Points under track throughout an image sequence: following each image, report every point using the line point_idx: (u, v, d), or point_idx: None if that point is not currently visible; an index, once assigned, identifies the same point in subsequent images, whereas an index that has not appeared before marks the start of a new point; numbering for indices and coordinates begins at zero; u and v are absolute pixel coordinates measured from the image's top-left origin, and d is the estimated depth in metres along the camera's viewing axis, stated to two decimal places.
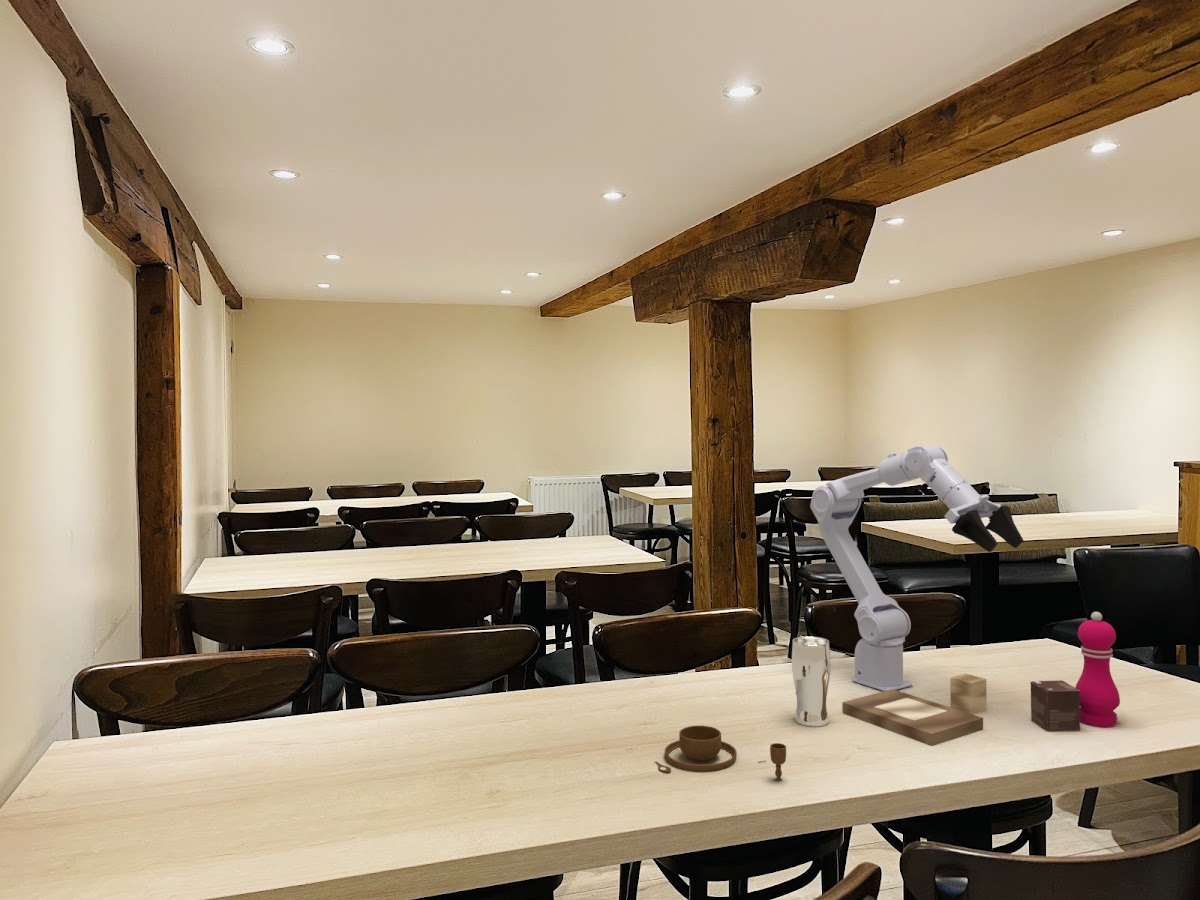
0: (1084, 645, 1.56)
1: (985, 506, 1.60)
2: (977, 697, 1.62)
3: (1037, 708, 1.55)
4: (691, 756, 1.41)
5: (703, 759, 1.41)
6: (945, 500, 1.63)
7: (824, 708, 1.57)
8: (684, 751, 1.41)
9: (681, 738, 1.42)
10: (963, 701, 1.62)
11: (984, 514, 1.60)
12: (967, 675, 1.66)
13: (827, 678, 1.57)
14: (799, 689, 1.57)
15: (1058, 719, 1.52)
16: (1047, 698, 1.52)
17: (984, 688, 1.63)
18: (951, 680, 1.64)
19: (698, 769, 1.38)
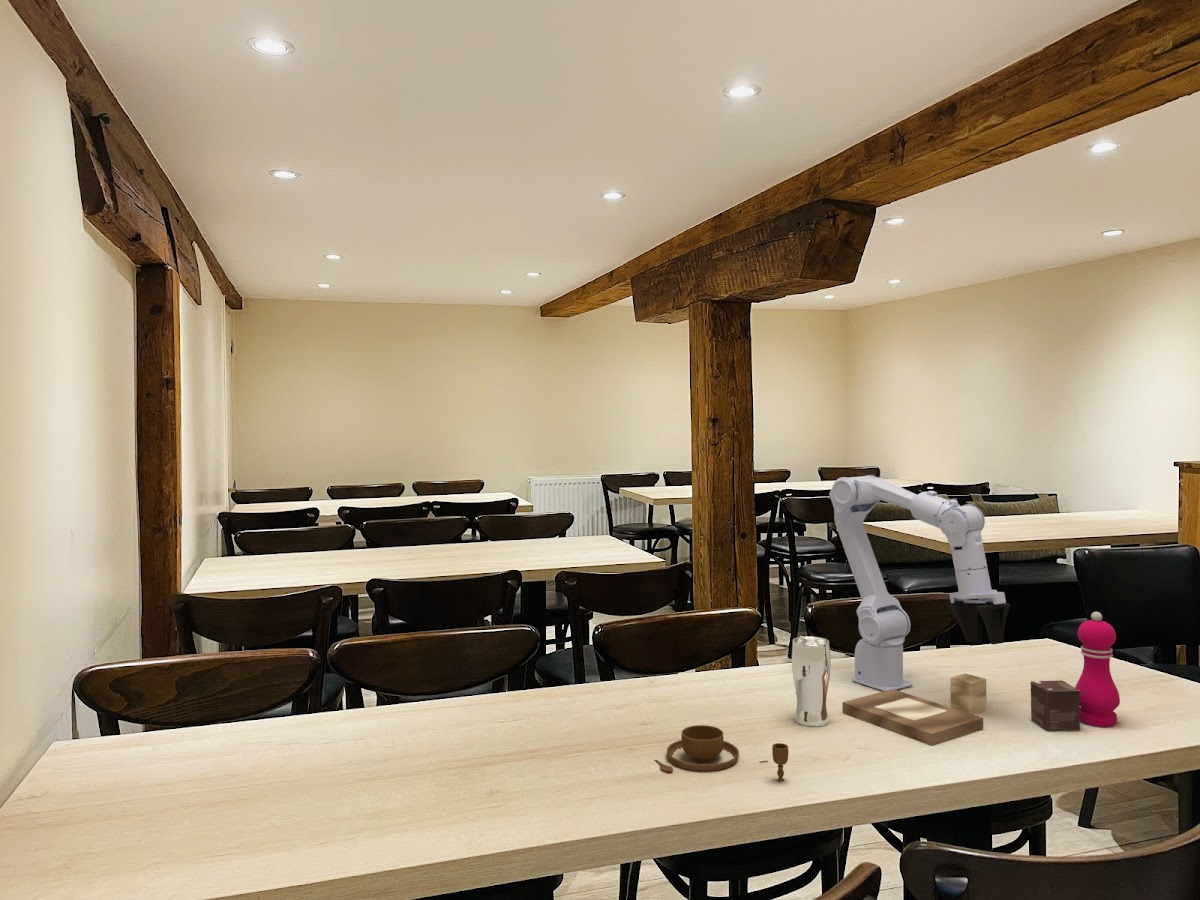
0: (1084, 645, 1.56)
1: None
2: (977, 697, 1.62)
3: (1037, 708, 1.55)
4: (693, 756, 1.41)
5: (705, 759, 1.41)
6: (973, 572, 1.59)
7: (824, 708, 1.57)
8: (686, 751, 1.41)
9: (683, 738, 1.42)
10: (962, 701, 1.62)
11: None
12: (967, 675, 1.66)
13: (827, 678, 1.57)
14: (799, 689, 1.57)
15: (1058, 719, 1.52)
16: (1047, 698, 1.52)
17: (984, 688, 1.63)
18: (951, 680, 1.64)
19: (700, 769, 1.37)
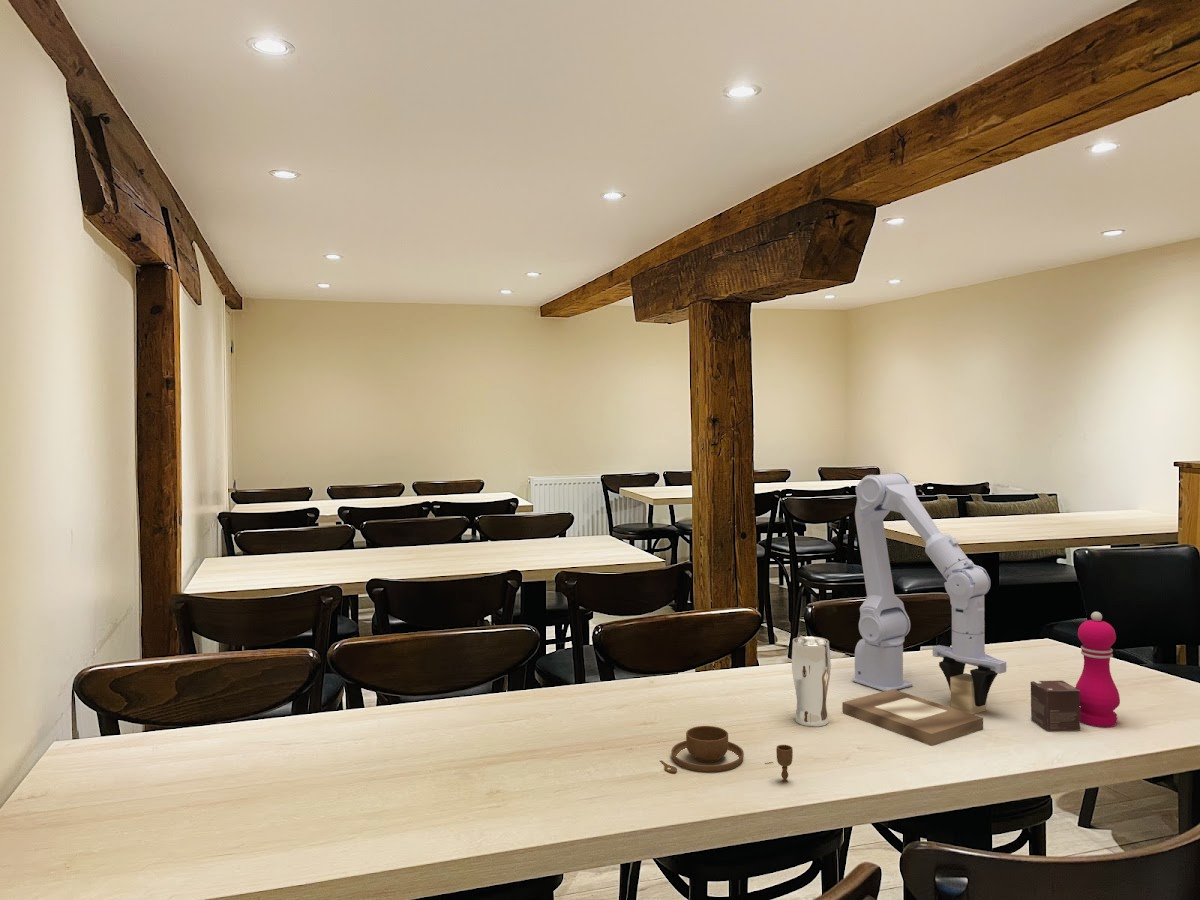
0: (1084, 645, 1.56)
1: None
2: None
3: (1037, 708, 1.55)
4: (698, 756, 1.40)
5: (710, 759, 1.40)
6: (975, 636, 1.61)
7: (824, 708, 1.57)
8: (691, 751, 1.41)
9: (688, 738, 1.42)
10: (963, 701, 1.62)
11: None
12: (967, 675, 1.66)
13: (827, 678, 1.57)
14: (799, 689, 1.57)
15: (1058, 719, 1.52)
16: (1047, 698, 1.52)
17: None
18: (951, 680, 1.64)
19: (704, 769, 1.37)
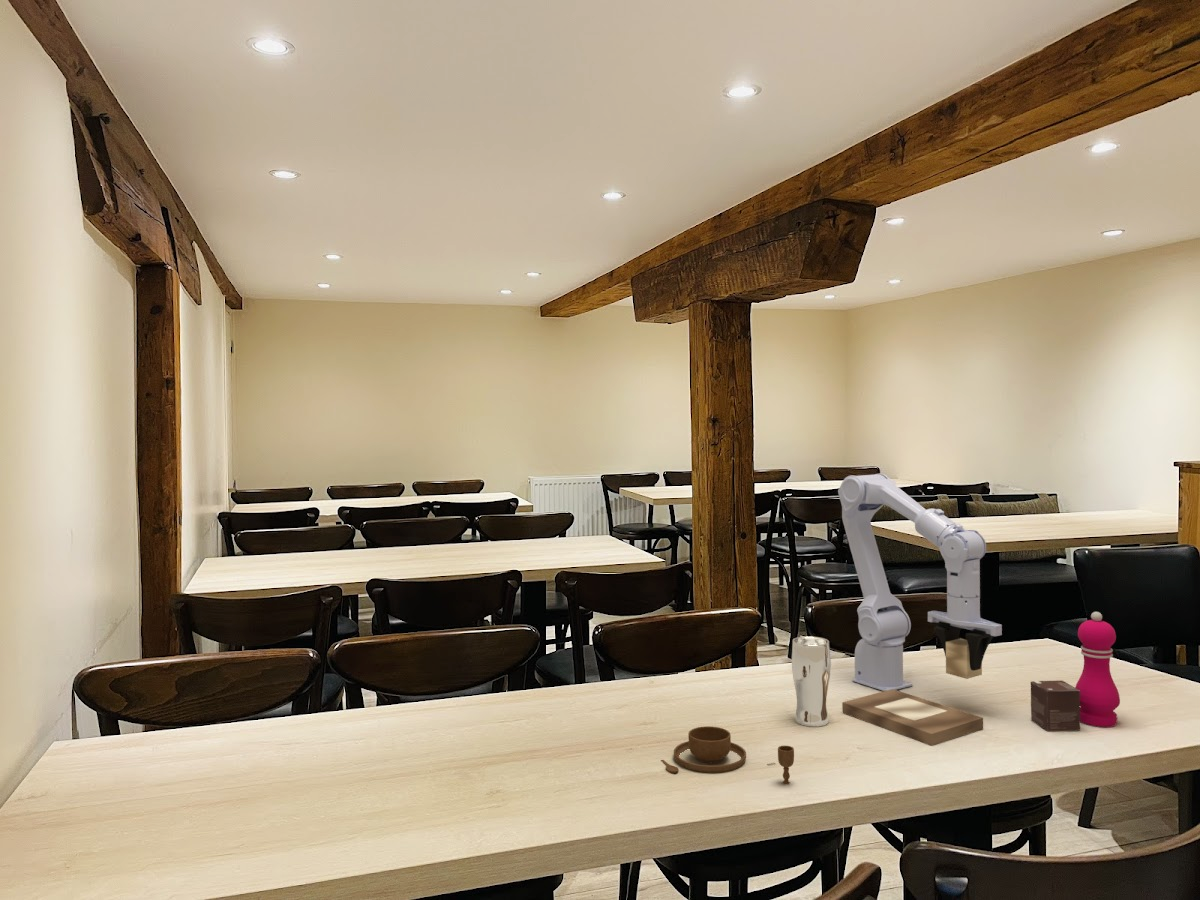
0: (1084, 645, 1.56)
1: None
2: None
3: (1037, 708, 1.55)
4: (699, 757, 1.40)
5: (712, 760, 1.40)
6: (971, 600, 1.60)
7: (824, 708, 1.57)
8: (693, 751, 1.41)
9: (690, 738, 1.42)
10: (958, 665, 1.62)
11: None
12: (962, 640, 1.65)
13: (827, 678, 1.57)
14: (799, 689, 1.57)
15: (1058, 719, 1.52)
16: (1047, 698, 1.52)
17: None
18: (946, 644, 1.64)
19: (706, 770, 1.37)
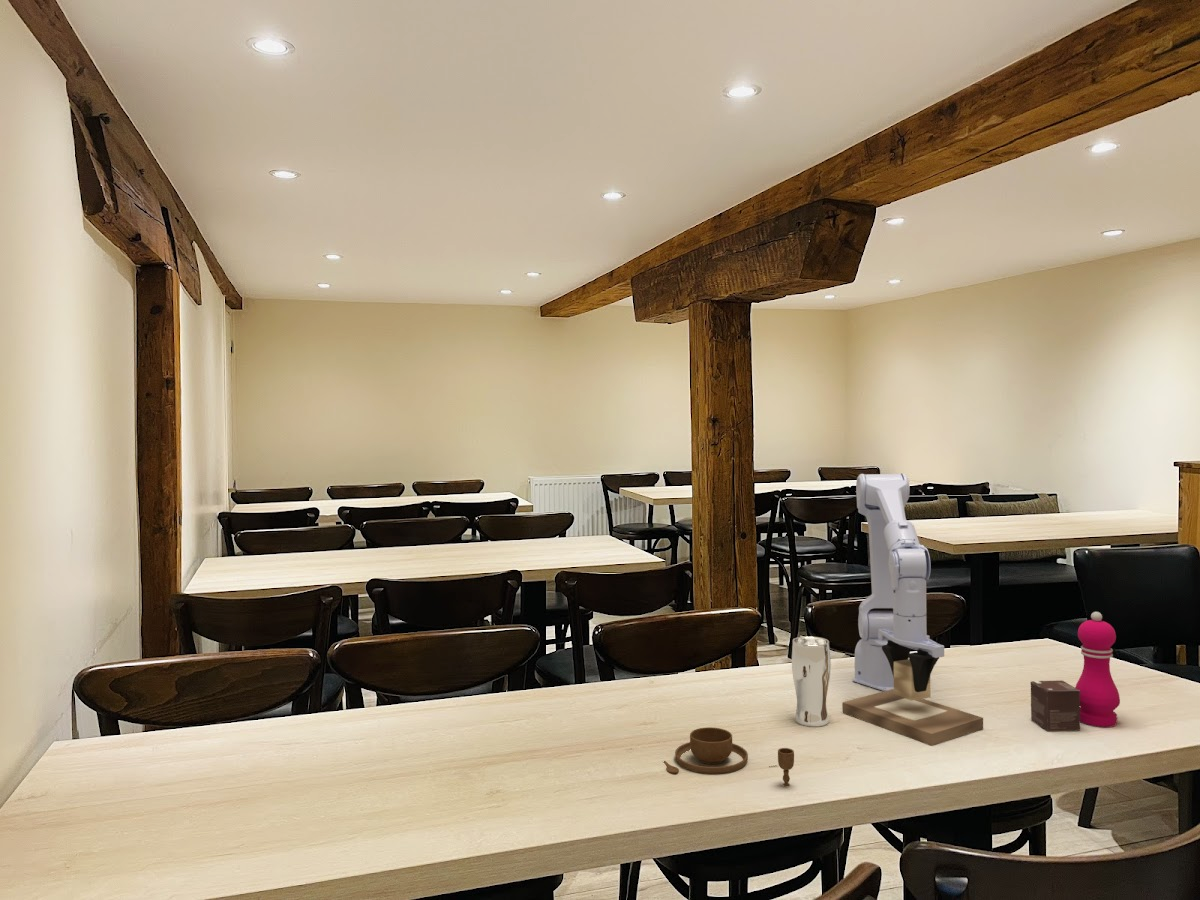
0: (1084, 645, 1.56)
1: None
2: None
3: (1037, 708, 1.55)
4: (700, 758, 1.40)
5: (713, 761, 1.40)
6: (914, 619, 1.55)
7: (824, 708, 1.57)
8: (694, 752, 1.41)
9: (691, 739, 1.41)
10: (904, 686, 1.57)
11: None
12: None
13: (827, 678, 1.57)
14: (799, 689, 1.57)
15: (1058, 719, 1.52)
16: (1047, 698, 1.52)
17: None
18: (894, 664, 1.59)
19: (706, 771, 1.37)
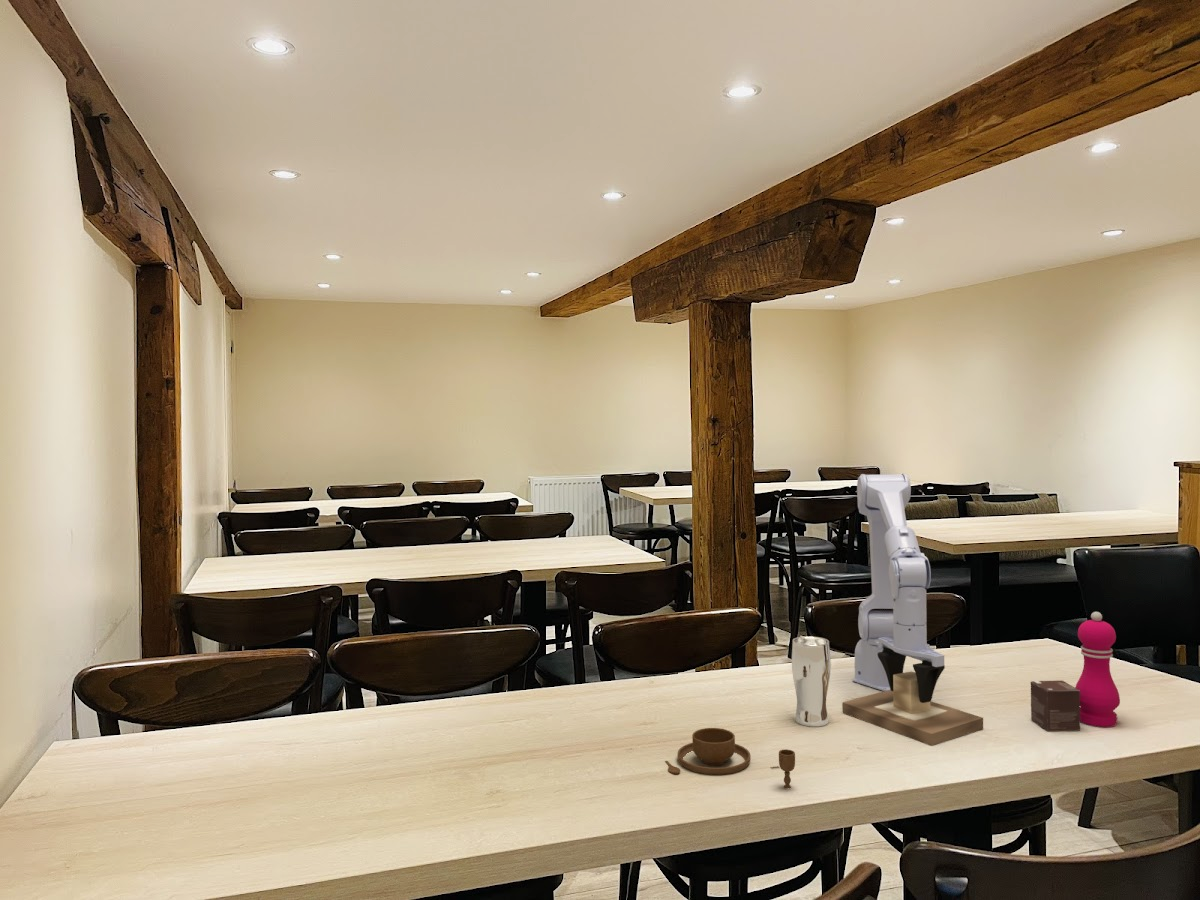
0: (1084, 645, 1.56)
1: None
2: None
3: (1037, 708, 1.55)
4: (702, 758, 1.39)
5: (715, 762, 1.39)
6: (914, 628, 1.55)
7: (824, 708, 1.57)
8: (696, 753, 1.40)
9: (693, 740, 1.41)
10: (904, 699, 1.57)
11: None
12: (912, 673, 1.60)
13: (827, 678, 1.57)
14: (799, 689, 1.57)
15: (1058, 719, 1.52)
16: (1047, 698, 1.52)
17: None
18: (894, 677, 1.59)
19: (707, 772, 1.36)
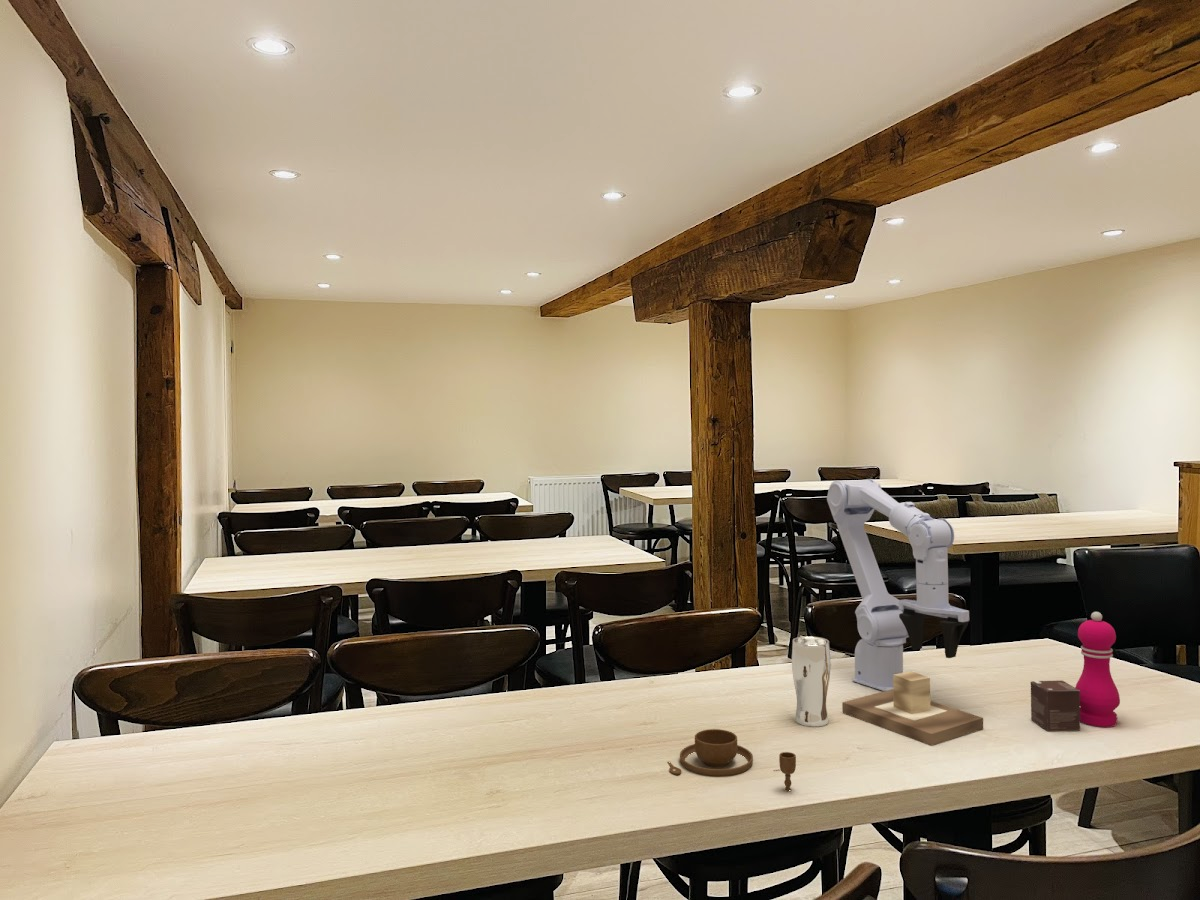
0: (1084, 645, 1.56)
1: None
2: (919, 696, 1.56)
3: (1037, 708, 1.55)
4: (704, 759, 1.39)
5: (716, 763, 1.39)
6: (939, 587, 1.62)
7: (824, 708, 1.57)
8: (698, 754, 1.40)
9: (695, 741, 1.41)
10: (904, 699, 1.57)
11: None
12: (912, 673, 1.60)
13: (827, 678, 1.57)
14: (799, 689, 1.57)
15: (1058, 719, 1.52)
16: (1047, 698, 1.52)
17: (927, 687, 1.57)
18: (894, 677, 1.59)
19: (708, 773, 1.36)
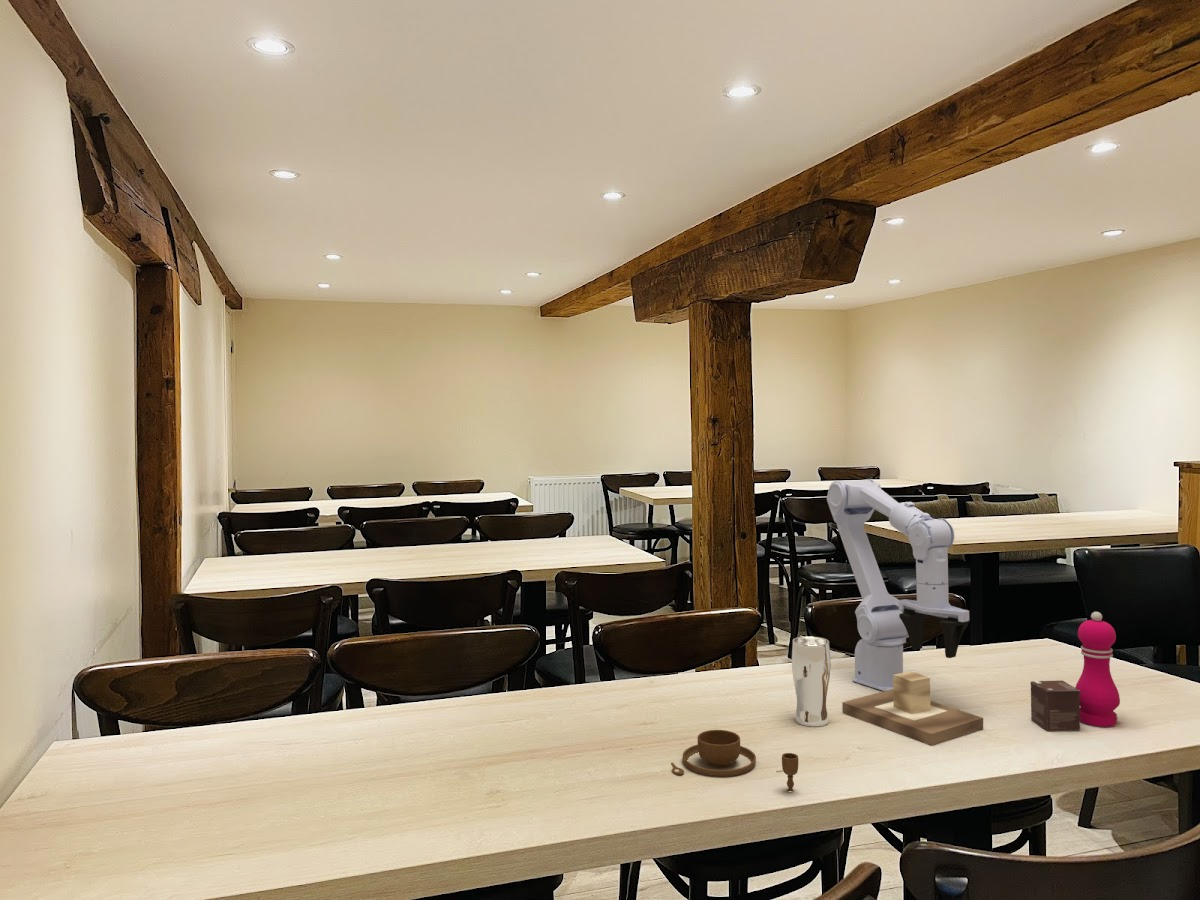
0: (1084, 645, 1.56)
1: None
2: (919, 696, 1.56)
3: (1037, 708, 1.55)
4: (707, 760, 1.39)
5: (719, 764, 1.39)
6: (939, 587, 1.62)
7: (824, 708, 1.57)
8: (701, 755, 1.40)
9: (698, 741, 1.40)
10: (904, 699, 1.57)
11: None
12: (912, 673, 1.60)
13: (827, 678, 1.57)
14: (799, 689, 1.57)
15: (1058, 719, 1.52)
16: (1047, 698, 1.52)
17: (927, 687, 1.57)
18: (894, 677, 1.59)
19: (711, 774, 1.36)
